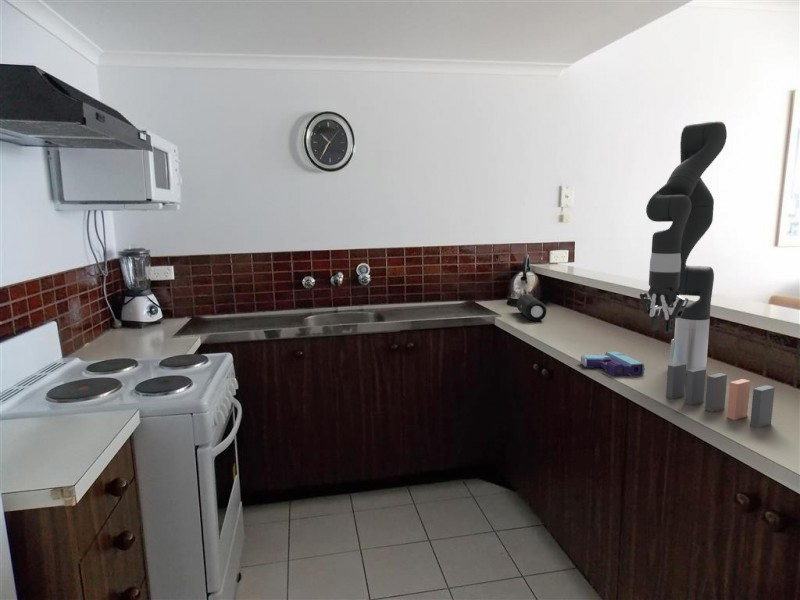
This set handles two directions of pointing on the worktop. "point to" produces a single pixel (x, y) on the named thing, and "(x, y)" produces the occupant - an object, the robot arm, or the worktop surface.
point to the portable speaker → (531, 307)
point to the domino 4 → (738, 399)
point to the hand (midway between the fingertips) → (661, 331)
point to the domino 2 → (695, 386)
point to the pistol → (614, 363)
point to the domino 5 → (762, 406)
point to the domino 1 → (676, 380)
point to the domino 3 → (715, 392)
